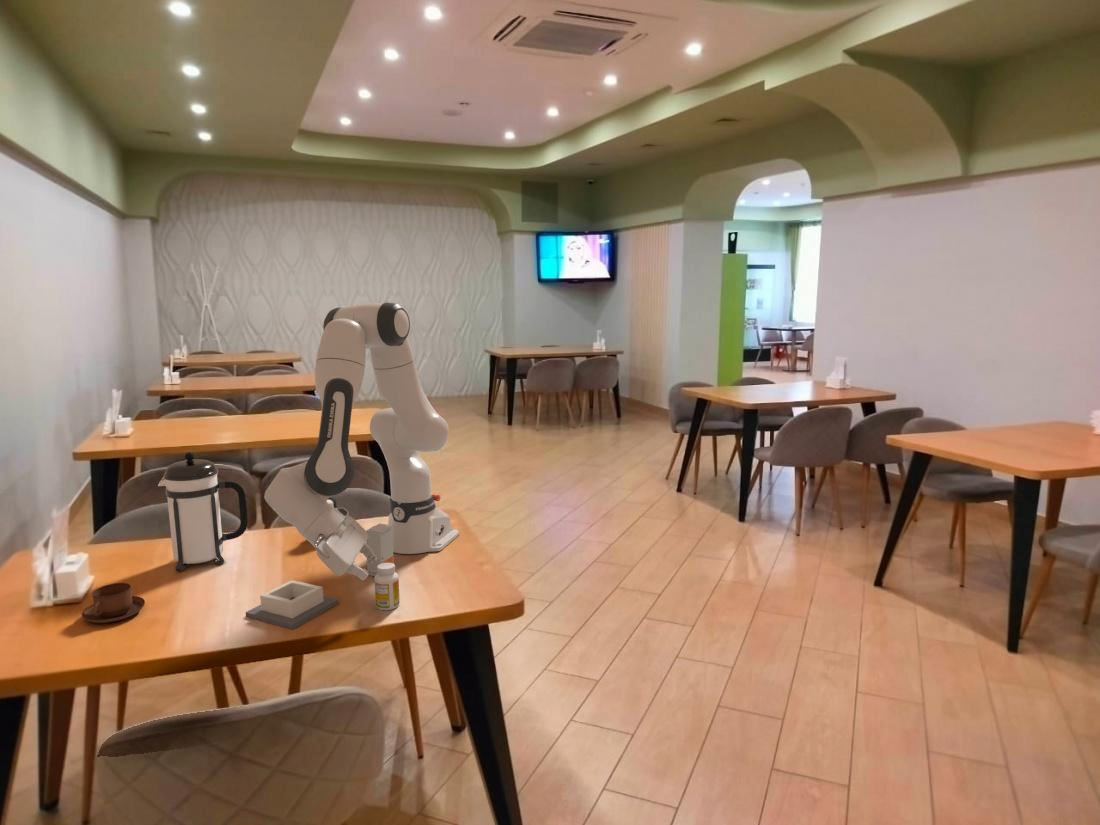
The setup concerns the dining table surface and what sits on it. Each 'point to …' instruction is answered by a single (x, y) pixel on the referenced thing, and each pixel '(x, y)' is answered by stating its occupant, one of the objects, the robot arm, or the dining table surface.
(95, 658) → the dining table surface
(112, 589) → the cup and saucer
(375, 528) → the skincare box
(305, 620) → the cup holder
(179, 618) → the dining table surface
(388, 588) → the supplement bottle
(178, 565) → the coffee press
